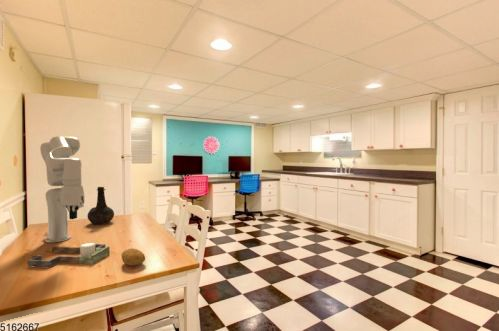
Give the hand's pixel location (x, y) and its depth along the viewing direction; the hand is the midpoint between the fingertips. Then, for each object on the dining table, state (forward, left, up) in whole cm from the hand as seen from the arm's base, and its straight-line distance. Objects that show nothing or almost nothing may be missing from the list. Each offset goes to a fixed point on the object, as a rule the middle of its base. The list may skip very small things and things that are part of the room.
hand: (73, 218), depth 133 cm
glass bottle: (-29, +63, -20) cm, 72 cm away
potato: (+35, -7, -20) cm, 41 cm away
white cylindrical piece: (+9, -2, -20) cm, 22 cm away
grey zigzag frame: (0, -2, -20) cm, 20 cm away
